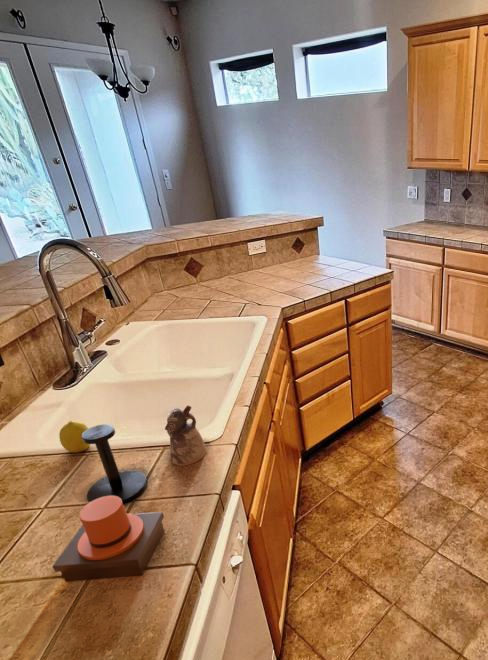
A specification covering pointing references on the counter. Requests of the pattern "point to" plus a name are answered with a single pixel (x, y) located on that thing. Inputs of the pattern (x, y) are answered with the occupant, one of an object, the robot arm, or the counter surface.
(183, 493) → the counter surface
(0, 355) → the robot arm
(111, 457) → the hat stand
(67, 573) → the walnut stand
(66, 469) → the counter surface
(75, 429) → the lemon
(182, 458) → the figurine
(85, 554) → the hat
